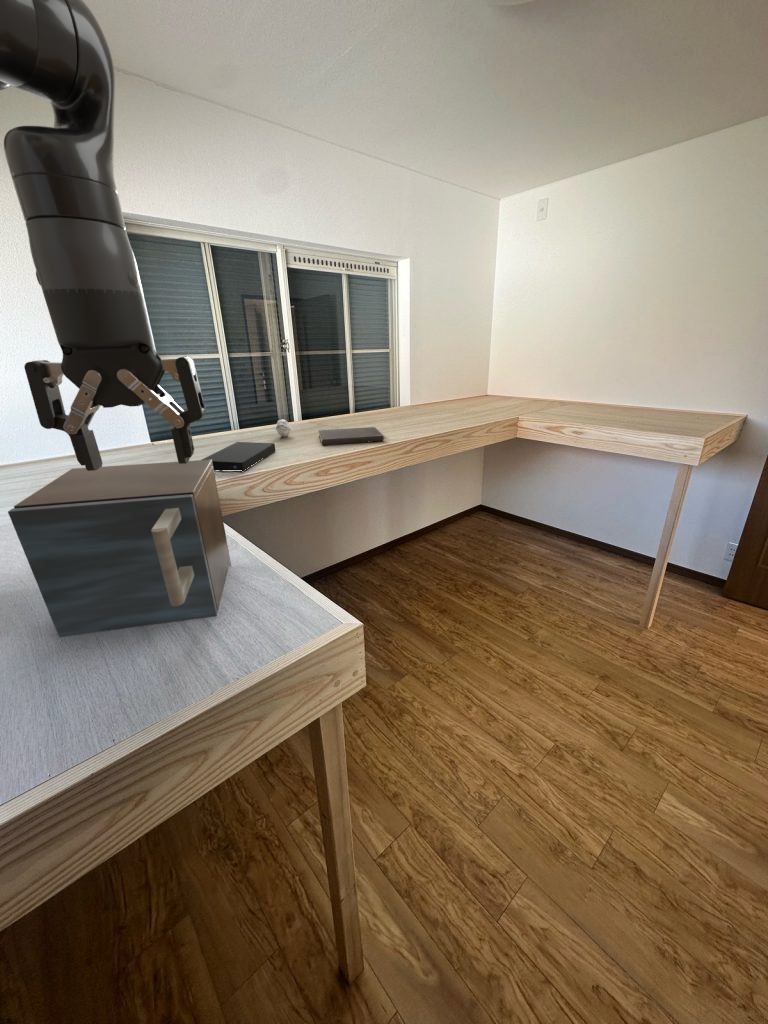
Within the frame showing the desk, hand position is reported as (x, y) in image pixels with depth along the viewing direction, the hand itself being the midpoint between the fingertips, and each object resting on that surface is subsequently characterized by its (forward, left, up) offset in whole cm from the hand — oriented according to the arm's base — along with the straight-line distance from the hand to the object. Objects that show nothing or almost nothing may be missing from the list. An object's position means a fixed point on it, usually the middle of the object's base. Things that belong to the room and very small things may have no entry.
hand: (140, 465), depth 43 cm
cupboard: (-7, +15, -26) cm, 31 cm away
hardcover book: (+37, +112, -26) cm, 121 cm away
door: (-7, +4, -26) cm, 27 cm away
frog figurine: (+12, +122, -26) cm, 125 cm away
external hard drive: (-2, +92, -26) cm, 96 cm away
